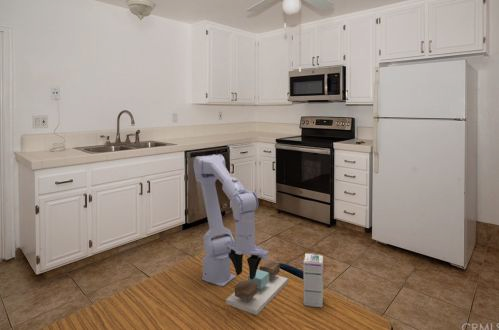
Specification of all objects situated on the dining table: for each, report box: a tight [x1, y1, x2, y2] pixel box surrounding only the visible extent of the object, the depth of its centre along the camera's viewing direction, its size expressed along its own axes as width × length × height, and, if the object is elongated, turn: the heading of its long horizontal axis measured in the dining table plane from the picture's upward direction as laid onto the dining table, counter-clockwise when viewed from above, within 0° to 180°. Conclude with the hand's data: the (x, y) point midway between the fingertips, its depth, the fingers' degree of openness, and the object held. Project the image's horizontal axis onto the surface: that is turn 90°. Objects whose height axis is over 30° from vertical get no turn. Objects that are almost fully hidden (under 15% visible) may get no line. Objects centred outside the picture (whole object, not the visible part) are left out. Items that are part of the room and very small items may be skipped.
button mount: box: [225, 274, 289, 316], centre depth 104 cm, size 11×21×4 cm, turn 148°
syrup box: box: [302, 253, 324, 308], centre depth 98 cm, size 6×6×14 cm
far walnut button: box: [259, 259, 281, 278], centre depth 110 cm, size 5×5×3 cm
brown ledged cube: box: [234, 278, 257, 301], centre depth 98 cm, size 5×5×3 cm
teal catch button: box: [247, 268, 269, 289], centre depth 104 cm, size 5×5×3 cm
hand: (245, 275), depth 97 cm, fingers open, 4 cm apart
